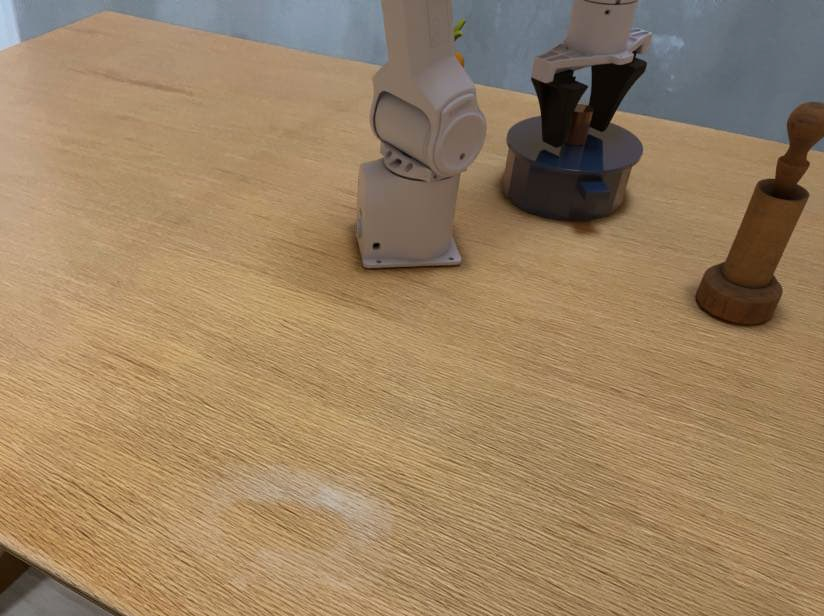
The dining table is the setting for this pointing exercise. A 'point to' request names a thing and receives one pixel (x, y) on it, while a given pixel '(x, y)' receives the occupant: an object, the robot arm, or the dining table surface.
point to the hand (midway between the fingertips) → (574, 135)
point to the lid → (576, 146)
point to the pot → (562, 191)
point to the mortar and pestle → (764, 231)
